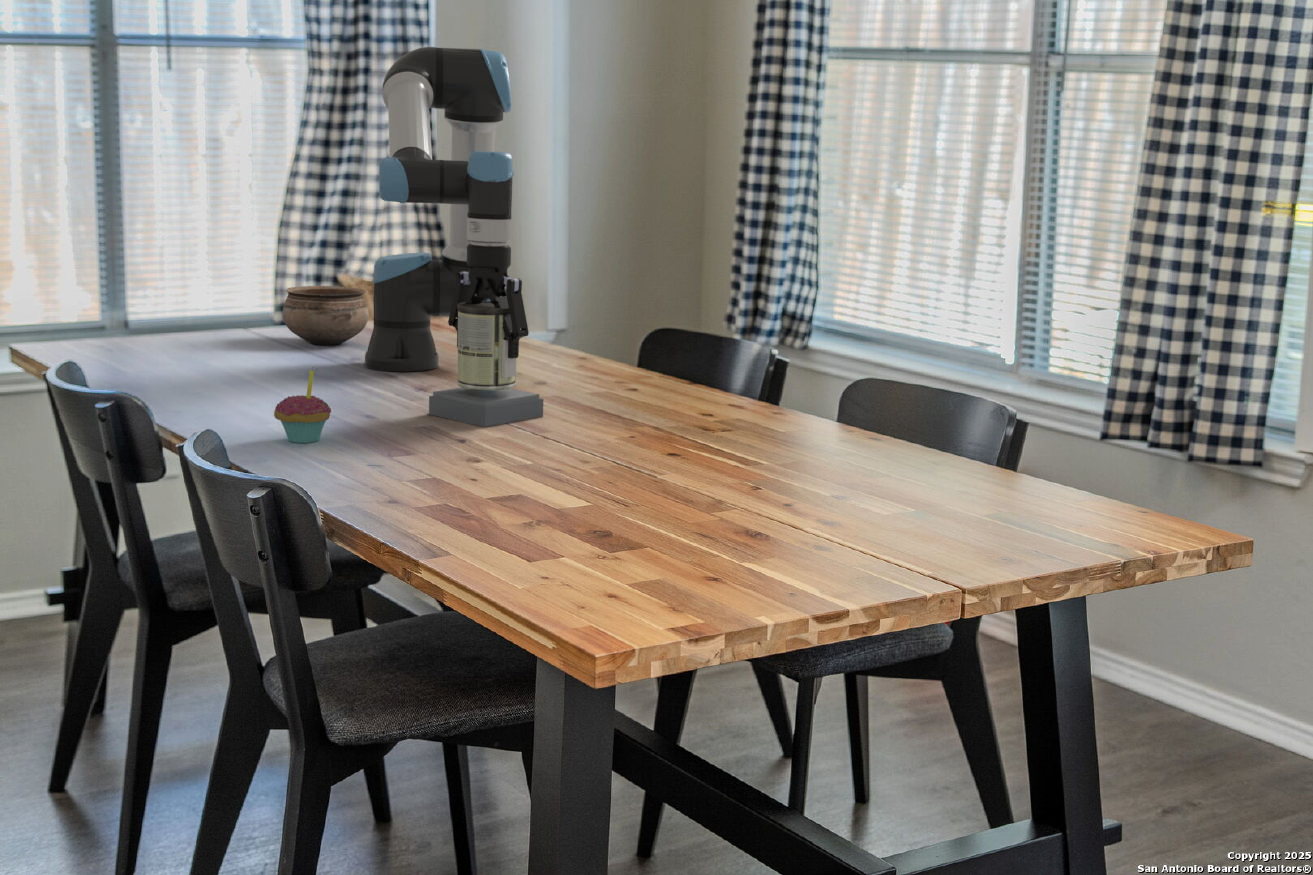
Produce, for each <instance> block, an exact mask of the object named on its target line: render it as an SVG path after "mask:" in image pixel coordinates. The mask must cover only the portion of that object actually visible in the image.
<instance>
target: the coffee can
mask: <svg viewBox="0 0 1313 875" xmlns="http://www.w3.org/2000/svg"><path fill="white" fill-rule="evenodd" d="M457 308H458V348H457V383H456V385H457V386H458V387H459V388H462V387H463V388H467V389H475V390H503V389H509V388H511V389H514V388H515V387H516V386H517V383H516V379H517V378H516V377H517V375H516V376H513V377H507V378H503V377H502V339H503V338H504V337H506V336H505V333H504V330H503V314H504V315H510V312H509V307H508V308H495V306H494V304H492V303H491V301H482V302H481V303H479V304H466V302H462V303H459V304H458V305H457ZM511 332H512V330H511Z"/></svg>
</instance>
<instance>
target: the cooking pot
mask: <svg viewBox="0 0 1313 875" xmlns="http://www.w3.org/2000/svg"><path fill="white" fill-rule="evenodd" d="M285 291H286V292H287V296H286V299H285V301H284V305H283V308H282V313H281V314H282V320H283V323H284V324H285V325H286V327H287V328H288V330H289V331H291V333H293V334H294V335H295V336H297V337H298V338H300V339H302V340H304V341H306V342H307V343H309V344H310V345H312V346H318V347H338V346H341V345H342V344H344V343H346V342H347V341H349V340H351V339H352V338H353V337H355V336H357V335H358V334H360V333H361V332H362V331H363V330H364V329H365V328H366V326H367V323H368V320H369V316H370V315H369V308H368V305H367V302H366V300H365V298H364V296H363V295H364V294H365V292H366V290H365V289H363V288H357V287H352V286H351V287H348V286H337V285H335V286H334V285H305V286H294V287H292V286H291V287H289V288H288V287H287V288H286V289H285Z"/></svg>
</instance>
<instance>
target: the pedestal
mask: <svg viewBox="0 0 1313 875" xmlns="http://www.w3.org/2000/svg"><path fill="white" fill-rule="evenodd" d="M432 394H433V395H429V396H428V400H429V401H428V414H429V415H431V416H435V417H440V418H445V419H449V420H453V421H457V422H460V423H465V424H471V425H474V426H477V427H478V426H479V427H482V428H489V427H494V426H499V425H505V424H511V423H515V422H516V423H517V422H521V421H527V420H532V419H537V418H543V417H544V398H541V397H540V394H539V393H535V392H529V391H526V390H521V389H515V388H509V389H503V390H475V389H467V388H463V387H456V388H449V389H448V388H447V389H442V390H435V391H433V392H432Z"/></svg>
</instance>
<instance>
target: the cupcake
mask: <svg viewBox="0 0 1313 875" xmlns="http://www.w3.org/2000/svg"><path fill="white" fill-rule="evenodd" d="M314 367H315V366H314V365H313V366H312V367H311V370H309V372H308V373H309V374H308V380H307V381H308V382H307V391H306V395H305V394H304V395H303V394H301V395H298V394H297V395H292V396H287V397H286V398H283V400H281V401H279V402H278V403H277V404H276V406H275V409H274V411H273V412H274V413H273V416H274V419H276V420H278V421H280V422H281V425H282V426H283V429H284V432H285V434H286V437H287V438H286V439H287V440H288V441H289V442H291V443H295V444H310V443H316V442H318V441H319V440H320V438H321V434H322V431H323V428H324V426H325V423H326V421H327V420H329V419H330V415H331V413H332V408H331V407H330V406H329V404H328V403H327V402H326V401H324V400H323V399H322V398H321V399H320V397H317V396H315V395H312V390H313V381H314V374H315V371H314Z"/></svg>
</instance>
